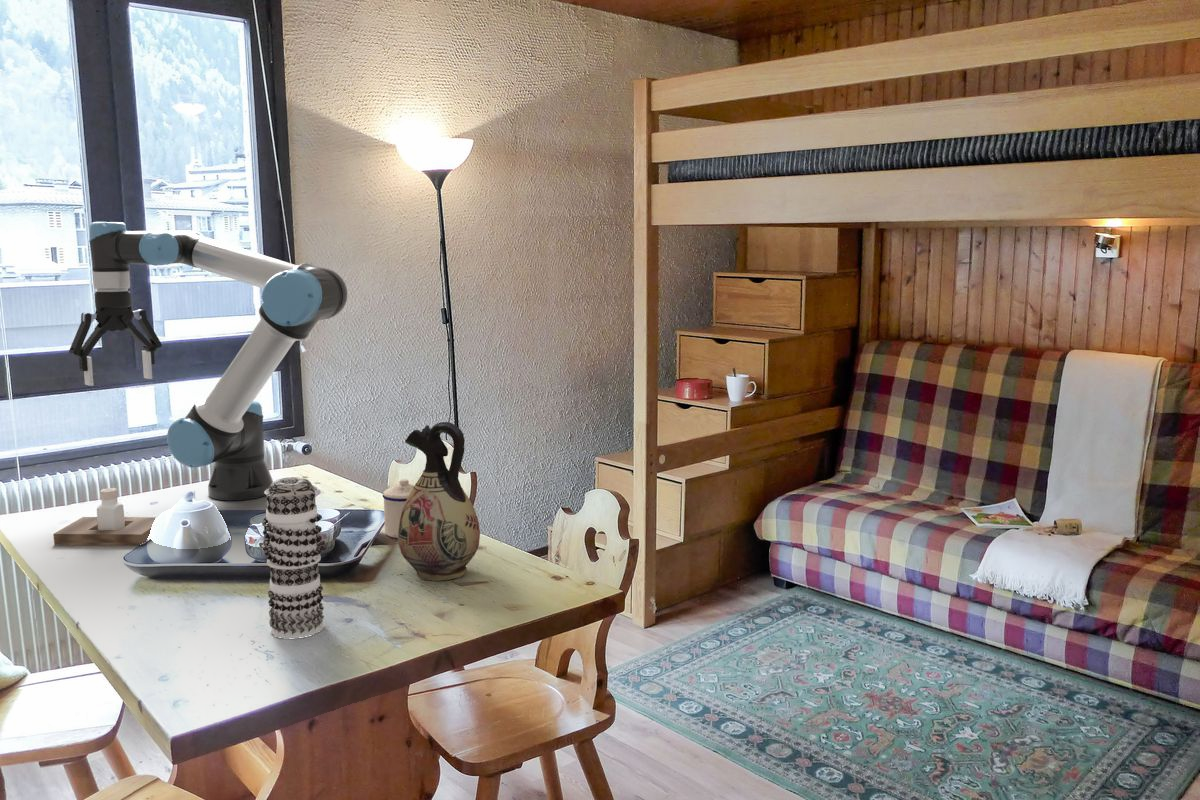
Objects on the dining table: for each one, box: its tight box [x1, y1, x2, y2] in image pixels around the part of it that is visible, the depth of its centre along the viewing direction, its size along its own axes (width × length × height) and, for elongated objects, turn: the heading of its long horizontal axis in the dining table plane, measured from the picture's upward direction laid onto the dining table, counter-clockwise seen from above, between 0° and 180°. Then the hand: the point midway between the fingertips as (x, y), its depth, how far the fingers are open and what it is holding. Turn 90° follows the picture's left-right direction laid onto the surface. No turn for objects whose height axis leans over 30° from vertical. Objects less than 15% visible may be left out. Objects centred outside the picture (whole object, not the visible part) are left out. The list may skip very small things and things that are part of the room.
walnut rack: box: [52, 516, 156, 547], centre depth 209 cm, size 18×12×2 cm, turn 90°
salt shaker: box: [96, 487, 125, 530], centre depth 208 cm, size 4×4×10 cm
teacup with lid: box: [382, 478, 415, 539], centre depth 213 cm, size 12×9×12 cm
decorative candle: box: [261, 476, 325, 638], centre depth 160 cm, size 9×9×25 cm
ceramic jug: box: [397, 421, 481, 582], centre depth 185 cm, size 17×15×30 cm
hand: (119, 381), depth 230 cm, fingers open, 13 cm apart
